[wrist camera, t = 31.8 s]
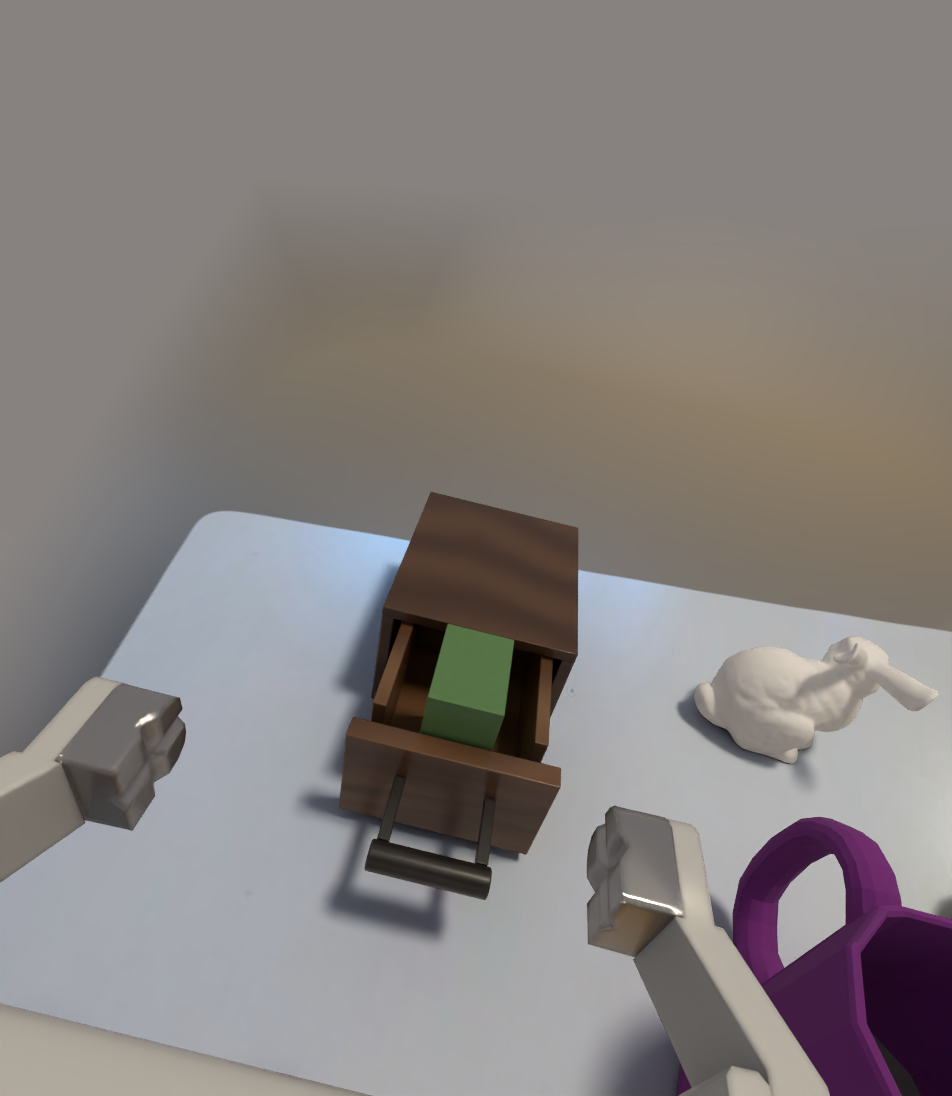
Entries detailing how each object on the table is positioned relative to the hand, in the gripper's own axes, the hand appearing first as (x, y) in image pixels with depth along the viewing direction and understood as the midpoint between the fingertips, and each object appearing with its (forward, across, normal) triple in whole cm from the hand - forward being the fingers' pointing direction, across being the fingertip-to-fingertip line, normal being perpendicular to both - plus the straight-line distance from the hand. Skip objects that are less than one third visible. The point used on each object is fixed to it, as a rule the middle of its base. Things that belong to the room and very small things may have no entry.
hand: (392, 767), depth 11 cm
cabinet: (+28, -2, +25) cm, 37 cm away
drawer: (+16, -2, +24) cm, 29 cm away
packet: (+16, -2, +23) cm, 28 cm away
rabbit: (+26, -27, +25) cm, 45 cm away
